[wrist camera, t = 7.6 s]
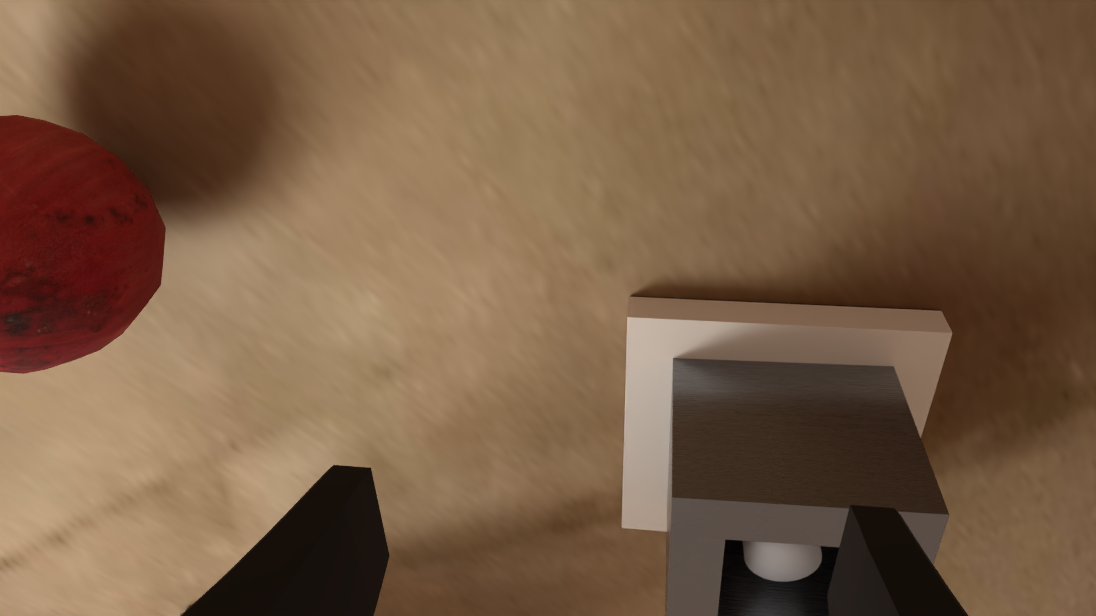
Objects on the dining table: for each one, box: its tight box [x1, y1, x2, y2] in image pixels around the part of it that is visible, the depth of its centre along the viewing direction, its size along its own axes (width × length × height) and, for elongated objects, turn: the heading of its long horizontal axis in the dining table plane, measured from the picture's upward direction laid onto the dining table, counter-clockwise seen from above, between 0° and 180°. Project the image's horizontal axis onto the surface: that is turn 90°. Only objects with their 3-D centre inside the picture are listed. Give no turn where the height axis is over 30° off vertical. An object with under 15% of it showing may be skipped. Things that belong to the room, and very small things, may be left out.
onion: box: [0, 115, 166, 374], centre depth 18 cm, size 6×6×8 cm
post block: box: [622, 297, 952, 582], centre depth 21 cm, size 8×8×5 cm
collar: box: [665, 358, 949, 616], centre depth 20 cm, size 6×6×5 cm
